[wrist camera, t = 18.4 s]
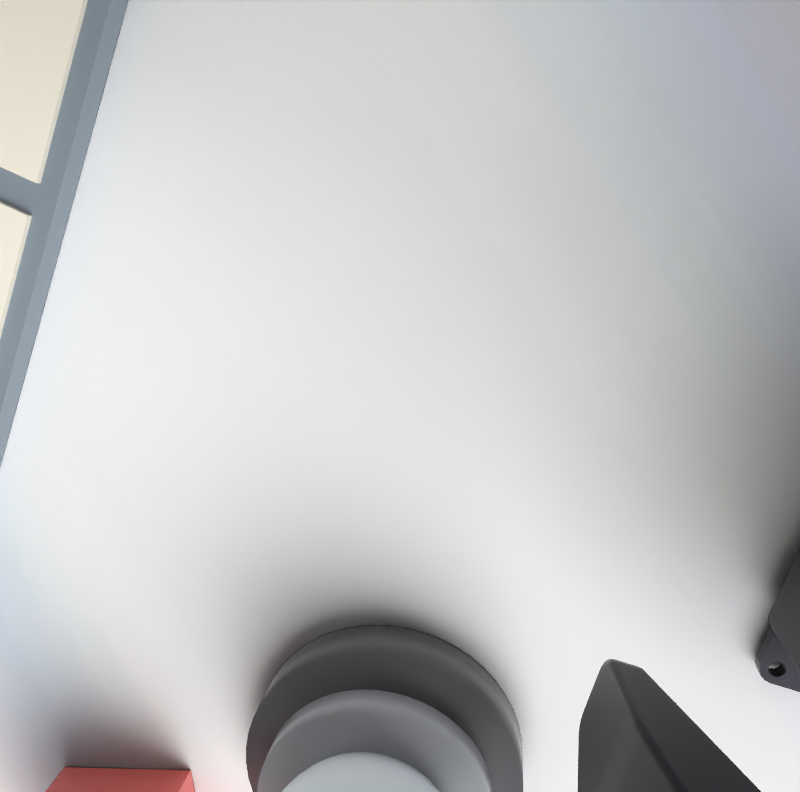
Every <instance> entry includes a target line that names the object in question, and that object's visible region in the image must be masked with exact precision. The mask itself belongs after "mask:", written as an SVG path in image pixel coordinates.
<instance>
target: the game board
mask: <svg viewBox="0 0 800 792" xmlns="http://www.w3.org/2000/svg"><path fill="white" fill-rule="evenodd" d="M127 3H128V0H0V466H1V462H2V458H3V455H4V451H5V447H6V444H7V440H8V436H9V433H10V429H11V425H12V422H13V418H14V415H15V411H16V407H17V404H18V400H19V396H20V393H21V389H22V385H23V382H24V378H25V374H26V371H27V367H28V364H29V360H30V356H31V353H32V349H33V345H34V342H35V338H36V334H37V331H38V327H39V323H40V320H41V316H42V313H43V309H44V305H45V302H46V298H47V294H48V291H49V287H50V283H51V280H52V276H53V272H54V269H55V265H56V262H57V258H58V254H59V251H60V247H61V243H62V240H63V236H64V232H65V229H66V225H67V221H68V218H69V214H70V210H71V207H72V203H73V200H74V196H75V192H76V189H77V185H78V181H79V178H80V174H81V170H82V167H83V163H84V159H85V156H86V152H87V149H88V145H89V141H90V138H91V134H92V130H93V127H94V123H95V119H96V116H97V112H98V108H99V105H100V101H101V98H102V94H103V90H104V87H105V83H106V79H107V76H108V72H109V68H110V65H111V61H112V57H113V54H114V50H115V46H116V43H117V39H118V36H119V32H120V28H121V25H122V21H123V17H124V14H125V10H126V6H127Z"/></svg>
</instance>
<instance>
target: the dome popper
mask: <svg viewBox="0 0 800 792" xmlns="http://www.w3.org/2000/svg"><path fill="white" fill-rule="evenodd" d="M257 792H493V786H492V781H491V776H490V773H489V770H488V768H487V765H486V762H485V760H484V759H483V757H482V755H481V753H480V751H479V749H478V748H477V747H476V745H475V744H474V743H473V741H472V740H471V738H470V737H469V736H468V735H467V734H466V733H465V732H464V731H463V730H462V729H461V728H460V727H459V726H458V725H457V724H456V723H454V722H453V721H452V720H451V719H450V718H448V717H447V716H446V715H444V714H442V713H441V712H439V711H438V710H436V709H435V708H433V707H431V706H429V705H427V704H425V703H423V702H421V701H418V700H416V699H413V698H410V697H408V696H404V695H401V694H397V693H393V692H387V691H380V690H350V691H343V692H338V693H334V694H330V695H327V696H324V697H321V698H319V699H317V700H315V701H313V702H311V703H309V704H307V705H305V706H304V707H303V708H301V709H300V710H298V711H297V712H296V713H294V714H293V715H292V716H291V717H290V718H289V719H288V720H287V721H286V723H285V724H284V725H283V727H282V728H281V729H280V731H279V732H278V734H277V736H276V738H275V740H274V742H273V744H272V746H271V748H270V751H269V753H268V755H267V758H266V760H265V762H264V765H263V767H262V770H261V773H260V776H259V781H258V787H257Z"/></svg>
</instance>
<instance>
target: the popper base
mask: <svg viewBox="0 0 800 792" xmlns="http://www.w3.org/2000/svg"><path fill="white" fill-rule="evenodd" d="M350 690H380V691H387V692H393V693H397V694H401V695H404V696H408V697H410V698H413V699H416V700H418V701H421V702H423V703H425V704H427V705H429V706H431V707H433V708H435V709H436V710H438V711H439V712H441V713H442V714H444V715H446V716H447V717H448V718H450V719H451V720H452V721H453V722H454V723H456V724H457V725H458V726H459V727H460V728H461V729H462V730H463V731H464V732H465V733H466V734H467V735H468V736H469V737H470V738H471V740H472V741H473V743H474V744H475V745H476V747H477V748H478V749H479V751H480V753H481V755H482V757H483V759H484V760H485V762H486V765H487V768H488V770H489V773H490V776H491V781H492V786H493V792H523V768H522V740H521V735H520V729H519V725H518V722H517V719H516V716H515V713H514V711H513V708H512V706H511V705H510V703H509V701H508V699H507V697H506V695H505V694H504V692H503V691H502V689H501V688H500V687H499V685H498V684H497V682H496V681H495V680H494V679H493V678H492V677H491V676H490V675H489V673H488V672H487V671H486V670H485V669H484V668H483V667H482V666H480V665H479V664H478V663H477V662H476V661H475V660H473V659H472V658H471V657H470V656H468V655H467V654H465V653H464V652H462V651H461V650H459V649H458V648H456V647H454V646H452V645H450V644H448V643H446V642H445V641H443V640H441V639H438V638H436V637H433V636H430V635H428V634H425V633H422V632H419V631H415V630H411V629H407V628H401V627H393V626H379V625H367V626H358V627H350V628H346V629H342V630H337V631H334V632H331V633H329V634H326V635H323V636H321V637H318V638H317V639H315V640H313V641H311V642H309V643H307V644H306V645H304V646H303V647H302V648H300V649H299V650H298V651H296V652H295V653H294V654H292V655H291V656H290V657H289V659H288V660H287V661H286V662H285V663H284V664H283V665H282V666H281V667H280V669H279V670H278V672H277V673H276V674H275V676H274V677H273V679H272V681H271V683H270V685H269V687H268V689H267V691H266V693H265V695H264V697H263V699H262V701H261V703H260V706H259V708H258V710H257V712H256V714H255V716H254V718H253V720H252V723H251V727H250V730H249V733H248V739H247V746H246V763H247V770H248V777H249V780H250V784H251V787H252V790H253V792H257V787H258V781H259V776H260V773H261V770H262V767H263V765H264V762H265V760H266V758H267V755H268V753H269V751H270V748H271V746H272V744H273V742H274V740H275V738H276V736H277V734H278V732H279V731H280V729H281V728H282V727H283V725H284V724H285V723H286V721H287V720H288V719H289V718H290V717H291V716H292V715H293V714H294V713H296V712H297V711H298V710H300V709H301V708H303V707H304V706H305V705H307V704H309V703H311V702H313V701H315V700H317V699H319V698H321V697H324V696H327V695H330V694H334V693H338V692H343V691H350Z"/></svg>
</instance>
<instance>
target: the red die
mask: <svg viewBox="0 0 800 792" xmlns="http://www.w3.org/2000/svg"><path fill="white" fill-rule="evenodd" d="M46 792H195V790H194V785H193V780H192V775H191V770H157V769H119V768H81V767H64V769H63V770H62V771H61V772H60V774H59V775H58V776H57V778H56V779H55V780H54V781H53V783H52V784H51V785H50V786H49V788H48V789H47V790H46Z"/></svg>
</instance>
